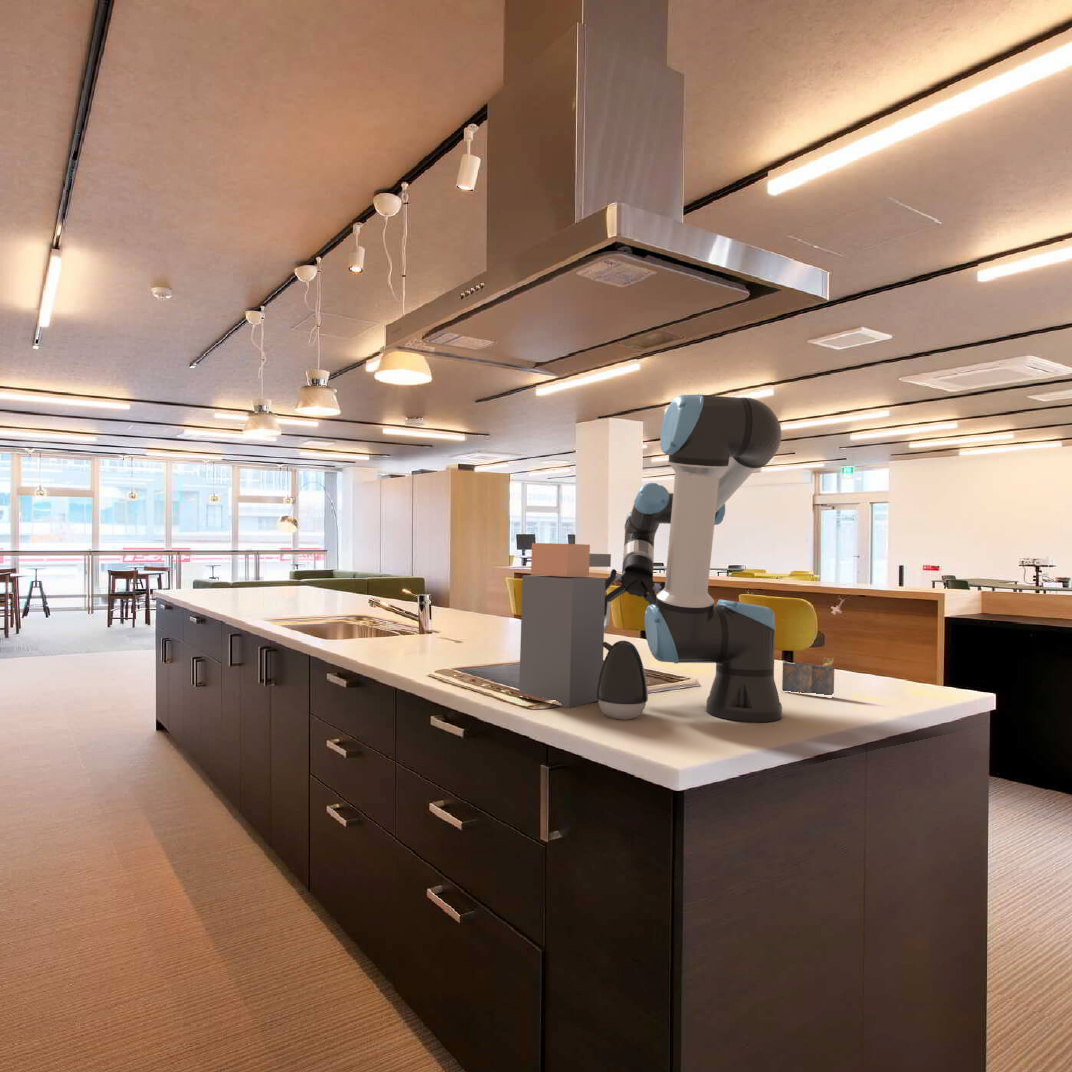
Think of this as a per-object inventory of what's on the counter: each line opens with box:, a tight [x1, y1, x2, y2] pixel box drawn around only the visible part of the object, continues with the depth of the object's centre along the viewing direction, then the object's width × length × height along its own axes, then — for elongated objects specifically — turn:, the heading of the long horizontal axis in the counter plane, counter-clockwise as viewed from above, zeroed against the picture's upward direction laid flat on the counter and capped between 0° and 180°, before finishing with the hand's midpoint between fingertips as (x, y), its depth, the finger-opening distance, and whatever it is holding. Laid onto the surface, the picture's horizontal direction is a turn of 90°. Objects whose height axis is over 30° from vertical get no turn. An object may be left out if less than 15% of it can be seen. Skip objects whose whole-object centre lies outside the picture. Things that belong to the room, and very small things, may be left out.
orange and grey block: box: [530, 542, 612, 577], centre depth 166 cm, size 22×10×7 cm, turn 140°
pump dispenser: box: [597, 640, 649, 720], centre depth 146 cm, size 10×10×15 cm
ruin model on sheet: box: [781, 656, 835, 695], centre depth 175 cm, size 25×16×10 cm, turn 55°
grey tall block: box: [518, 575, 606, 709], centre depth 162 cm, size 12×14×27 cm
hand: (634, 635), depth 166 cm, fingers open, 13 cm apart
